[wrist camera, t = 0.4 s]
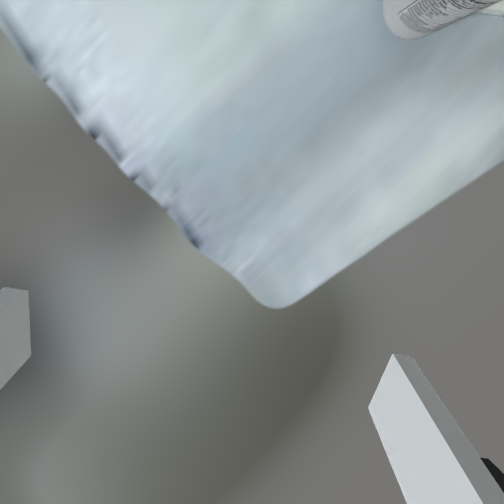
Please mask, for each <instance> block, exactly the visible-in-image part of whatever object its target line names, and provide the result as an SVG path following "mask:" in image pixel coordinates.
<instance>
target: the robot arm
mask: <svg viewBox="0 0 504 504" xmlns="http://www.w3.org/2000/svg"><path fill="white" fill-rule="evenodd" d="M29 323H30V321H29V299H28V291H25V290H20V289H14V288H8V287H4V288H3V289H1V290H0V389H1V388H2V387H3V386H4V385H5V384H6V383H7V381H8V380H9V379H10V378H11V377H12V376H13V375H14V374H15V373H16V372H17V370H18V369H19V368H20V367H21V366H22V365H23V364H24V363H25V361H26V360H27V359H28V358H29V357H30V356H31V344H30V324H29ZM368 409H369V411H370V414H371V416H372V419H373V421H374V424H375V426H376V429H377V431H378V434H379V436H380V438H381V441H382V443H383V446H384V448H385V451H386V453H387V456H388V458H389V461H390V463H391V465H392V468H393V470H394V473H395V475H396V478H397V480H398V483H399V485H400V487H401V490H402V492H403V495H404V497H405V500H406V502H407V504H504V474H503V473H502V472H501V471H500V470H499V469H498V468H497V467H496V466H495V465H494V464H493V463H492V462H491V461H490V460H489V459H485V458H480V457H479V456H478V454H477V453H476V451H475V450H474V448H473V447H472V445H471V444H470V442H469V441H468V439H467V438H466V436H465V435H464V433H463V432H462V430H461V429H460V427H459V426H458V424H457V423H456V422H455V420H454V418H453V417H452V415H451V414H450V413H449V411H448V410H447V408H446V407H445V405H444V404H443V402H442V401H441V399H440V398H439V396H438V395H437V393H436V392H435V390H434V389H433V387H432V386H431V384H430V383H429V381H428V380H427V378H426V377H425V375H424V374H423V372H422V371H421V370H420V368H419V367H418V365H417V364H416V362H415V361H414V359H413V358H412V357H410V356H404V355H398V354H392V356H391V358H390V361H389V363H388V365H387V367H386V369H385V372H384V374H383V377H382V378H381V381H380V383H379V385H378V387H377V390H376V392H375V394H374V396H373V398H372V400H371V403H370V405H369V407H368Z"/></svg>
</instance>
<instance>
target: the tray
mask: <svg viewBox="0 0 504 504" xmlns="http://www.w3.org/2000/svg"><path fill="white" fill-rule="evenodd" d="M476 13H481V14H489V15H497V16H504V0H503V1H500V2H498V3H496V4H494V5H492V6H489V7H487V8H485V9H483V10H481V11H478V12H476Z"/></svg>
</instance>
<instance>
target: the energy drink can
mask: <svg viewBox="0 0 504 504" xmlns="http://www.w3.org/2000/svg"><path fill="white" fill-rule="evenodd" d="M500 1H503V0H383V15H384V19H385V22H386V24H387V26H388V28H389V29H390V30H391V31H392V32H393V33H394V34H395V35H396V36H398V37H400V38H403V39H408V40H412V39H418V38H421V37H424V36H426V35H428V34H430V33H433V32H435V31H437V30H439V29H441V28H443V27H446V26H448V25H450V24H452V23H454V22H457V21H459V20H461V19H463V18H465V17H468V16H470V15H472V14H474V13H476V12H478V11H481V10H483V9H485V8H487V7H489V6H492V5H494V4H496V3H498V2H500Z"/></svg>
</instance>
